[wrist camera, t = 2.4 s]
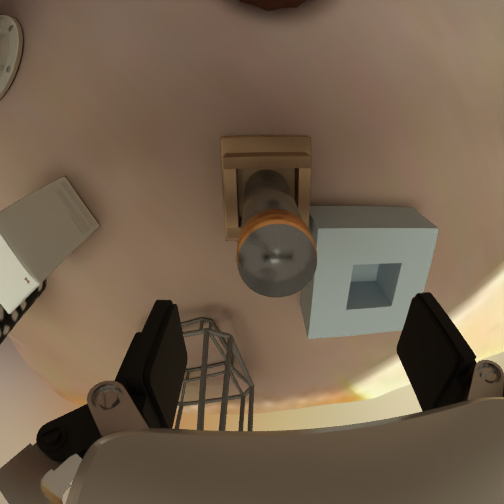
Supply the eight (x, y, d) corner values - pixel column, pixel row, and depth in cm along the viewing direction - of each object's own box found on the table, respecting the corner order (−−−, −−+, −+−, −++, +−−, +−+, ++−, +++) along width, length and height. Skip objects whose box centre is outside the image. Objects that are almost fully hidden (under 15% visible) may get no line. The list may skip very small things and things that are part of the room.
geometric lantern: (232, 285, 35) (224, 650, 4) (268, 372, 42) (286, 617, 11) (117, 314, 36) (28, 581, 5) (169, 388, 43) (140, 602, 12)
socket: (306, 205, 30) (317, 228, 25) (411, 207, 30) (438, 228, 25) (300, 304, 36) (307, 338, 30) (392, 298, 36) (411, 328, 30)
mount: (221, 136, 27) (217, 141, 24) (307, 135, 27) (316, 140, 24) (227, 234, 32) (224, 252, 28) (304, 233, 32) (311, 250, 28)
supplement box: (65, 173, 28) (-11, 214, 17) (101, 226, 31) (41, 287, 20) (31, 209, 30) (-36, 257, 19) (65, 256, 33) (8, 317, 22)
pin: (242, 168, 27) (234, 226, 15) (289, 168, 27) (322, 225, 15) (244, 212, 29) (238, 299, 17) (288, 211, 29) (315, 297, 16)
